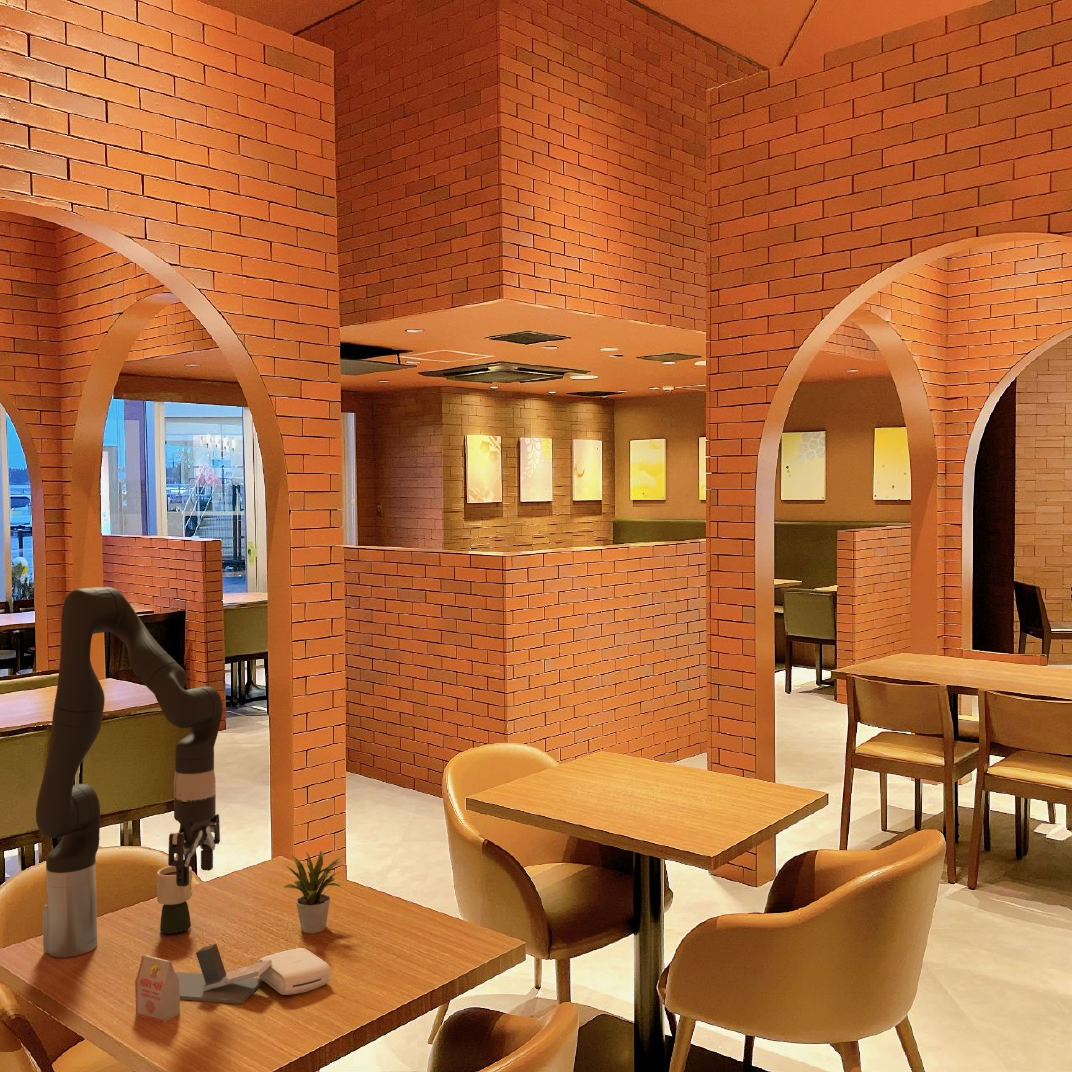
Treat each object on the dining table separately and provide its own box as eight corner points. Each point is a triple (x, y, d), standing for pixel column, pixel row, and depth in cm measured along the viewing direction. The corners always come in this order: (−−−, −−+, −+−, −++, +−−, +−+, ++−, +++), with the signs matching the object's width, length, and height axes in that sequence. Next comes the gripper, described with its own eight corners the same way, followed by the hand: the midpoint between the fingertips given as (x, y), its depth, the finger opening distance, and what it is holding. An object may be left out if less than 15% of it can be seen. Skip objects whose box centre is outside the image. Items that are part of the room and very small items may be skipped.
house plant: (351, 939, 210) (350, 861, 210) (283, 947, 206) (281, 868, 206) (347, 914, 224) (346, 840, 223) (283, 921, 220) (281, 846, 220)
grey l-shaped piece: (203, 991, 186) (191, 955, 187) (217, 979, 191) (206, 944, 191) (259, 975, 184) (247, 939, 184) (272, 963, 188) (260, 928, 189)
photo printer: (305, 944, 198) (335, 964, 189) (304, 966, 198) (335, 987, 188) (255, 956, 192) (284, 978, 182) (255, 979, 191) (284, 1002, 182)
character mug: (203, 932, 215) (202, 871, 215) (171, 942, 210) (170, 880, 209) (179, 919, 222) (178, 860, 222) (148, 928, 217) (146, 868, 217)
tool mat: (150, 996, 186) (150, 993, 186) (177, 974, 195) (177, 971, 195) (241, 1004, 182) (241, 1000, 182) (263, 981, 191) (263, 978, 191)
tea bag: (152, 1005, 182) (151, 950, 182) (179, 1013, 179) (178, 957, 179) (135, 1014, 179) (134, 958, 179) (163, 1022, 176) (162, 965, 176)
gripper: (197, 782, 200) (197, 863, 200) (155, 802, 186) (155, 889, 186) (231, 784, 198) (231, 866, 199) (192, 804, 184) (192, 893, 185)
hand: (195, 877), depth 192 cm, fingers open, 8 cm apart
